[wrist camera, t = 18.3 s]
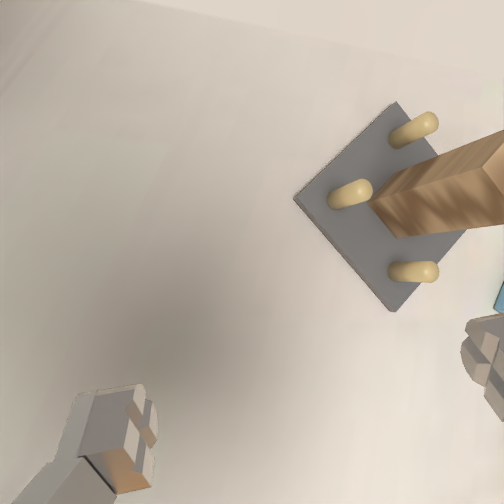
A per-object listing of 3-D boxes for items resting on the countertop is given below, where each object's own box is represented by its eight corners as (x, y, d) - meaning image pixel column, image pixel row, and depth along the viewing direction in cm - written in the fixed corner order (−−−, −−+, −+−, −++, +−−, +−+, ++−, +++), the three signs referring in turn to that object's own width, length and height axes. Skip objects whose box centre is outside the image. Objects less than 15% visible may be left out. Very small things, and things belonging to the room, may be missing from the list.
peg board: (292, 198, 38) (318, 185, 32) (390, 105, 41) (429, 78, 36) (389, 311, 40) (430, 318, 34) (474, 213, 44) (523, 204, 38)
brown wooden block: (366, 202, 39) (481, 166, 25) (396, 172, 40) (521, 122, 26) (395, 238, 40) (523, 221, 26) (424, 207, 41) (560, 176, 27)
